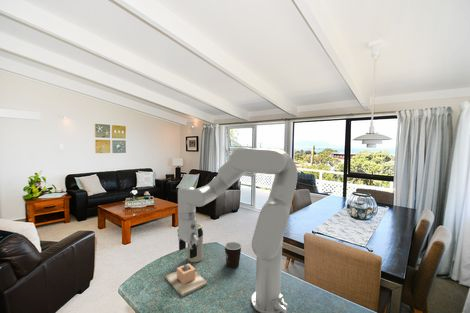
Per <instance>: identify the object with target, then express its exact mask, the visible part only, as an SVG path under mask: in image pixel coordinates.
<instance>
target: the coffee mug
mask: <svg viewBox="0 0 470 313" xmlns="http://www.w3.org/2000/svg"><path fill="white" fill-rule="evenodd" d="M224 250H225V251H224V253H225V264H226V267H227V268H228V269H229V268H230V269H236V268H238V267H239V266H240V259H241V252H242V244H241V243H239V242H236V241H229V242H226V243H225V244H224Z"/></svg>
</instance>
